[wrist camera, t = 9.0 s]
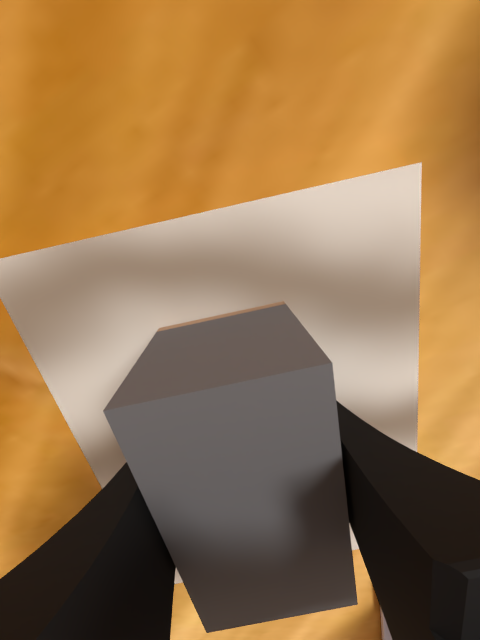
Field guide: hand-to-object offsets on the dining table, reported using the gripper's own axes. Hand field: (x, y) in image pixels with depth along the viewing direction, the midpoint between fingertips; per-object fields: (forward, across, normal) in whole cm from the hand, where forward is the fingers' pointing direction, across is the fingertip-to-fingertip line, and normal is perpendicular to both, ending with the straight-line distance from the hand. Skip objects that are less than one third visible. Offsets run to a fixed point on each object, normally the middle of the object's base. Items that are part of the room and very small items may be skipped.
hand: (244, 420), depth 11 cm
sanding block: (+1, 0, 0) cm, 1 cm away
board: (+2, 0, +2) cm, 3 cm away
